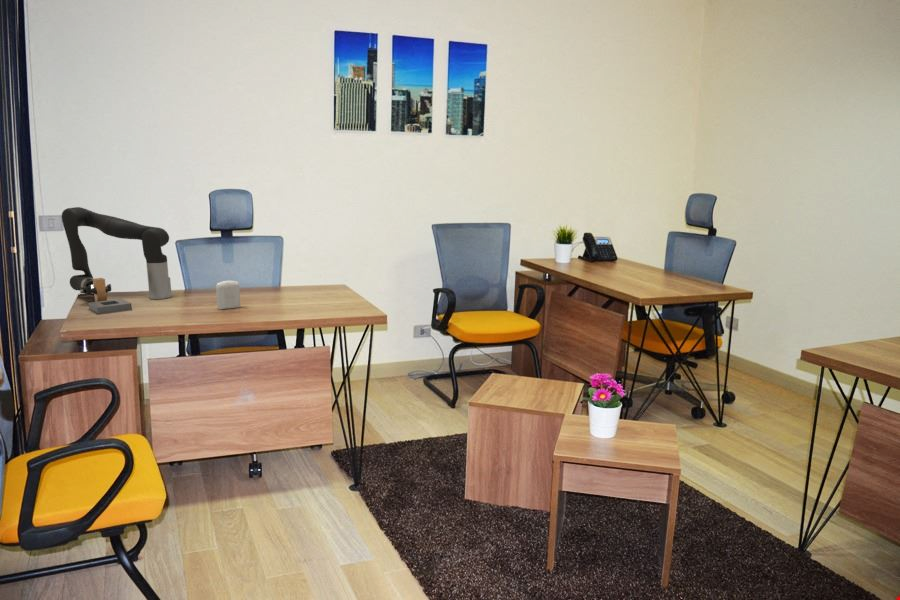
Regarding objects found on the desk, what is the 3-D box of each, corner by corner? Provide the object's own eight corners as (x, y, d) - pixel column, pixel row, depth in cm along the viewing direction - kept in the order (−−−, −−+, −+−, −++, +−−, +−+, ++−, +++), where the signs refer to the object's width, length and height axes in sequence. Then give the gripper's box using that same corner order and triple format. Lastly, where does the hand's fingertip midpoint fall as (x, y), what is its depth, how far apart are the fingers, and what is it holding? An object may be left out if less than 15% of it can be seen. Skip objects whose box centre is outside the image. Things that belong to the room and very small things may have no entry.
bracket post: (104, 303, 333) (101, 277, 330) (107, 304, 329) (104, 279, 327) (95, 304, 330) (92, 278, 328) (98, 306, 327) (95, 280, 324)
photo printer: (239, 305, 326) (237, 278, 323) (242, 307, 322) (240, 280, 320) (216, 308, 320) (214, 281, 318) (218, 310, 317) (216, 282, 314)
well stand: (122, 305, 329) (121, 298, 328) (131, 309, 319) (131, 303, 318) (89, 309, 320) (88, 302, 320) (97, 314, 310) (97, 307, 309)
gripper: (73, 280, 334) (83, 285, 321) (106, 276, 343) (117, 281, 330) (75, 296, 335) (85, 301, 323) (108, 292, 344) (119, 297, 332)
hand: (101, 291), depth 326 cm, fingers closed on bracket post, 4 cm apart
